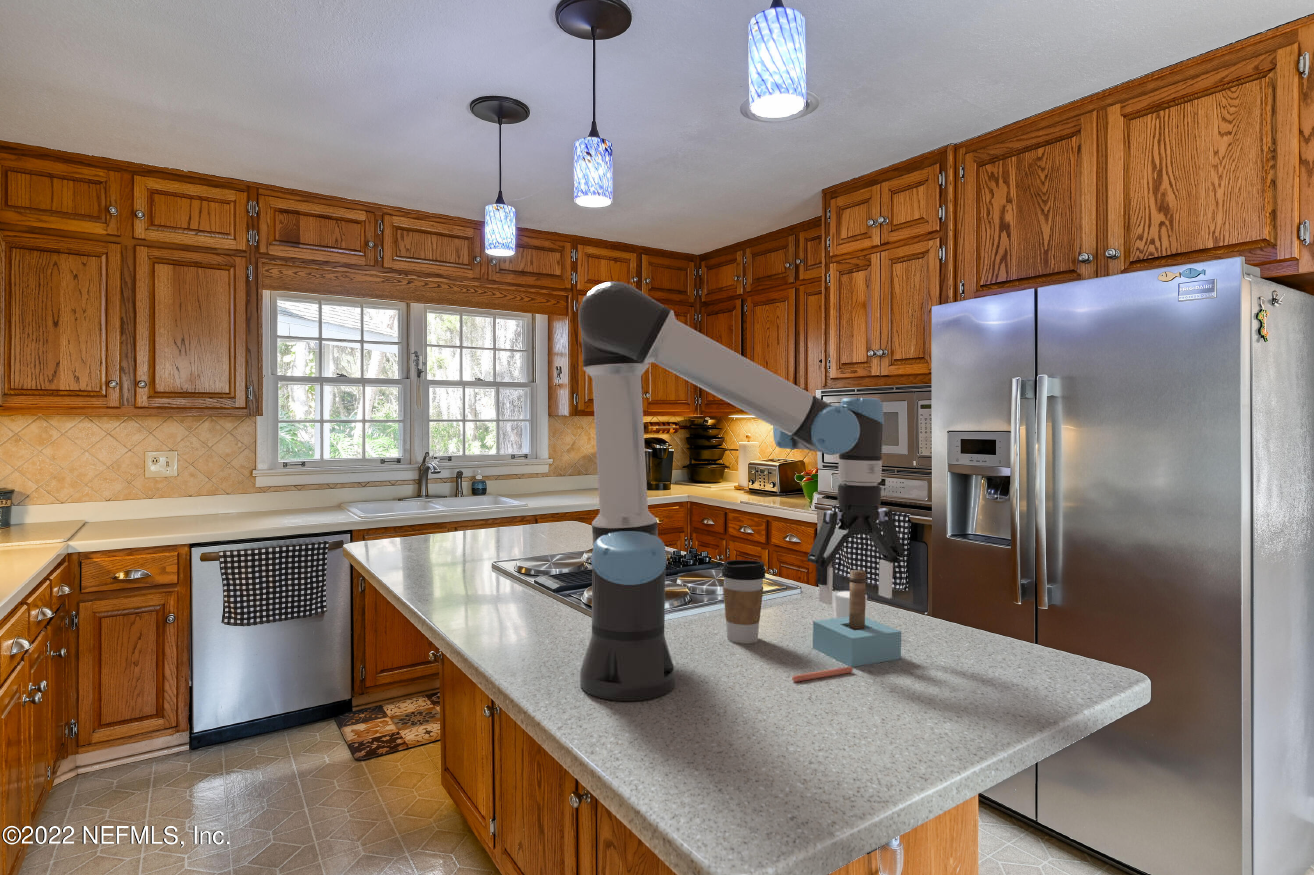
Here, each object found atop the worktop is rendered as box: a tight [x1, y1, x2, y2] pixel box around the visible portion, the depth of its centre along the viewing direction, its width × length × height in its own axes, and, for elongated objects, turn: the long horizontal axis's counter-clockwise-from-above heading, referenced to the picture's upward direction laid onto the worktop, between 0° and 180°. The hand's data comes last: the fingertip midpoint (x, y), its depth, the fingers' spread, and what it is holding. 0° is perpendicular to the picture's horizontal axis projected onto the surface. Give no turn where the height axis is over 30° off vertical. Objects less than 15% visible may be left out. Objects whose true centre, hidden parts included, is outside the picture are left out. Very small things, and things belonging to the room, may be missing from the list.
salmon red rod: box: [791, 666, 854, 683], centre depth 118 cm, size 12×1×1 cm, turn 114°
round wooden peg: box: [849, 569, 867, 630], centre depth 130 cm, size 3×3×15 cm
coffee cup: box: [721, 559, 766, 644], centre depth 138 cm, size 8×8×15 cm
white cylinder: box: [832, 590, 868, 618], centre depth 146 cm, size 7×7×7 cm
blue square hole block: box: [812, 616, 902, 668], centre depth 130 cm, size 11×11×5 cm
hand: (855, 599), depth 130 cm, fingers open, 13 cm apart
